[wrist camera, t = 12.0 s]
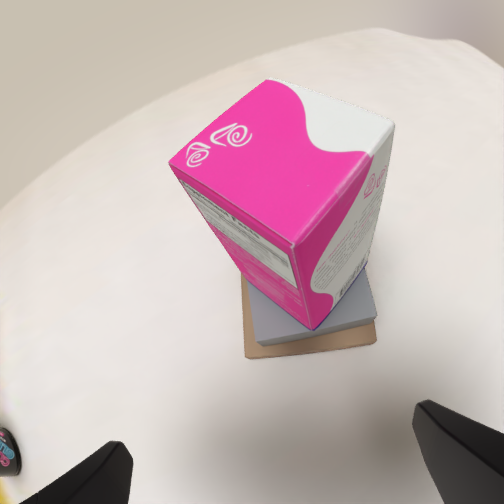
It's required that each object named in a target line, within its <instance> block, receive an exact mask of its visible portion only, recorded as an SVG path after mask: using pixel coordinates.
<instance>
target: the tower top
mask: <svg viewBox="0 0 504 504" xmlns="http://www.w3.org/2000/svg"><path fill="white" fill-rule="evenodd" d="M247 285H248V292H249V299H250V306H251V313H252V320H253V327H254V334H255V341H256V342H257V343H258V344H260V345H261V346H269V345H275V344H280V343H285V342H291V341H296V340H301V339H306V338H311V337H315V336H320V335H325V334H329V333H334V332H338V331H342V330H347V329H351V328H355V327H359V326H363V325H367V324H371V322H372V321H373V320H374V319H375V318H376V316H377V312H376V308H375V304H374V301H373V297H372V293H371V289H370V286H369V282H368V279H367V275H366V272H365V268H363V270H362V271H361V273H360V274H359V276H358V277H357V278H356V280H355V281H354V283H353V284H352V285H351V287H350V288H349V289H348V291H347V292H346V293H345V295H344V296H343V297H342V299H341V300H340V301H339V302H338V304H337V305H336V306H335V308H334V309H333V310H332V311H331V313H330V314H329V315H328V316H327V317H326V319H325V320H324V321H323V322H322V323H321V325H320V326H319V327H318V328H317V329H316V330H315V331H311V330H309V329H308V328H306V327H305V326H304V325H302V324H301V323H300V322H299V321H297V320H296V319H295V318H293V317H292V316H291V315H290V314H288V313H287V312H286V311H285V310H283V309H282V308H281V307H280V306H278V305H277V304H276V303H275V302H273V301H272V300H271V299H270V298H268V297H267V296H266V295H265V294H263V293H262V292H261V291H260V290H259V289H257V288H256V287H255V286H254V285H252V284H251V283H250V282H249V281H248V280H247Z"/></svg>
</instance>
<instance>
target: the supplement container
mask: <svg viewBox="0 0 504 504" xmlns="http://www.w3.org/2000/svg"><path fill="white" fill-rule="evenodd" d="M19 469H20V456H19V452H18V449H17V446H16V443H15V441H14V439H13V438H12V436H11V435H10V434H9V433H8V432H7V431H6V430H5V429H4V428H2V427H0V477H12V476H15V475H16V474H17V473H18V472H19Z"/></svg>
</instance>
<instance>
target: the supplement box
mask: <svg viewBox="0 0 504 504" xmlns="http://www.w3.org/2000/svg"><path fill="white" fill-rule="evenodd" d="M394 130H395V123H394V122H393V121H392V120H390V119H388V118H385V117H383V116H381V115H378V114H376V113H373V112H371V111H368V110H366V109H363V108H361V107H358V106H355V105H353V104H350V103H347V102H344V101H342V100H339V99H336V98H333V97H330V96H328V95H325V94H322V93H319V92H316V91H313V90H310V89H307V88H304V87H302V86H299V85H295V84H292V83H289V82H286V81H282V80H279V79H275V78H271V77H269V78H267V79H266V80H265V81H264V82H262V83H261V84H260V85H258V86H257V87H256V88H254V89H253V90H252V91H250V92H249V93H248V94H247V95H245V96H244V97H243V98H241V99H240V100H239V101H238V102H237V103H235V104H234V105H233V106H231V107H230V108H229V109H228V110H227V111H225V112H224V113H223V114H222V115H220V116H219V117H218V118H217V119H216V120H214V121H213V122H212V123H211V124H210V125H209V126H207V127H206V128H205V129H204V130H203V131H202V132H200V133H199V134H198V135H197V136H196V137H195V138H194V139H192V140H191V141H190V142H189V143H188V144H187V145H186V146H185V147H183V148H182V149H181V150H180V151H179V152H178V153H177V154H176V155H175V156H174V157H173V158H172V159H170V160H169V162H168V163H169V166H170V167H171V169H172V171H173V172H174V174H175V176H176V177H177V179H178V180H179V182H180V183H181V185H182V186H183V188H184V189H185V191H186V192H187V194H188V195H189V197H190V198H191V200H192V201H193V203H194V204H195V205H196V207H197V208H198V210H199V211H200V213H201V214H202V216H203V217H204V219H205V220H206V222H207V223H208V225H209V226H210V228H211V229H212V231H213V232H214V233H215V235H216V236H217V238H218V239H219V240H220V242H221V243H222V245H223V246H224V248H225V249H226V251H227V252H228V254H229V255H230V257H231V258H232V260H233V261H234V262H235V264H236V265H237V267H238V268H239V270H240V271H241V273H242V274H243V276H244V277H245V278H246V280H248V281H249V282H250V283H251V284H252V285H254V286H255V287H256V288H257V289H259V290H260V291H261V292H262V293H263V294H265V295H266V296H267V297H268V298H270V299H271V300H272V301H273V302H275V303H276V304H277V305H278V306H280V307H281V308H282V309H283V310H285V311H286V312H287V313H288V314H290V315H291V316H292V317H293V318H295V319H296V320H297V321H299V322H300V323H301V324H302V325H304V326H305V327H306V328H308V329H309V330H311V331H315V330H316V329H317V328H318V327H319V326H320V325H321V323H322V322H323V321H324V320H325V319H326V317H327V316H328V315H329V314H330V313H331V311H332V310H333V309H334V308H335V306H336V305H337V304H338V302H339V301H340V300H341V299H342V297H343V296H344V295H345V293H346V292H347V291H348V289H349V288H350V287H351V285H352V284H353V283H354V281H355V280H356V278H357V277H358V276H359V274H360V273H361V271H362V270H363V268H364V267H365V265H366V264H367V260H368V256H369V251H370V247H371V243H372V239H373V235H374V231H375V227H376V223H377V219H378V215H379V210H380V206H381V202H382V197H383V192H384V188H385V182H386V177H387V172H388V166H389V161H390V155H391V149H392V142H393V136H394Z"/></svg>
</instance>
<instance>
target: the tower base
mask: <svg viewBox="0 0 504 504" xmlns="http://www.w3.org/2000/svg"><path fill="white" fill-rule="evenodd" d="M241 287H242V309H243V330H244V349H245V357H246V358H248V359H259V358H271V357H282V356H291V355H301V354H309V353H317V352H325V351H332V350H339V349H346V348H352V347H358V346H364V345H370V344H373V343H375V342H376V341H377V339H376V332H375V325H374V320H373V321H372V322H371V324H367V325H363V326H359V327H355V328H351V329H347V330H342V331H338V332H334V333H329V334H325V335H320V336H315V337H311V338H306V339H301V340H296V341H291V342H285V343H280V344H275V345H269V346H261V345H260V344H258V343H257V342H256V341H255V334H254V327H253V320H252V313H251V306H250V299H249V292H248V285H247V280H246V278H245V277H244V276H243V274H242V273H241Z"/></svg>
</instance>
